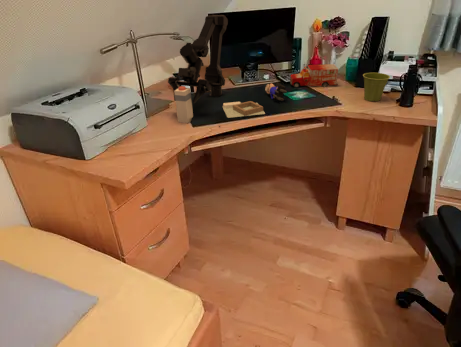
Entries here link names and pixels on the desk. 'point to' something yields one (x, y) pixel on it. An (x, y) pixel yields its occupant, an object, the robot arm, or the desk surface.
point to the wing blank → (230, 104)
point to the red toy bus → (316, 76)
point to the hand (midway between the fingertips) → (184, 101)
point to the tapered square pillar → (183, 104)
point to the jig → (244, 109)
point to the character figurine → (276, 91)
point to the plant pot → (374, 85)
